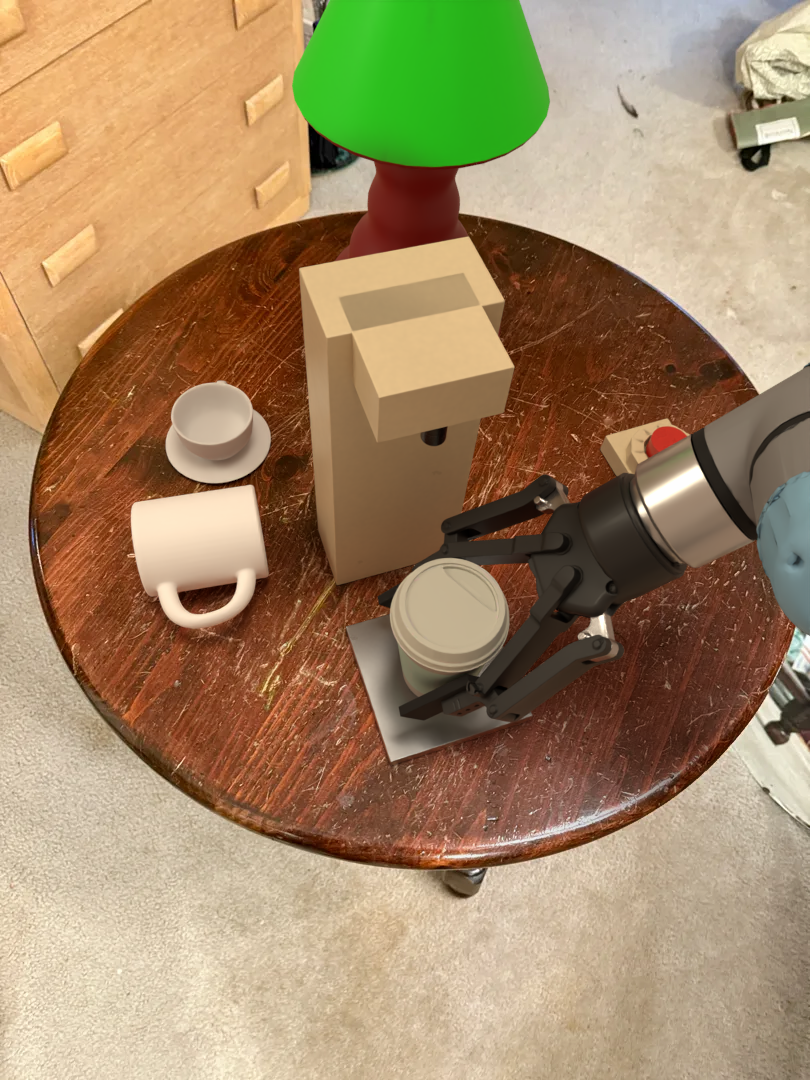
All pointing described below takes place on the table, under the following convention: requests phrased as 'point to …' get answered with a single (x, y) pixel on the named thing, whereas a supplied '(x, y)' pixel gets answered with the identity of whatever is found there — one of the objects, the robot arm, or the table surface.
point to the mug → (199, 549)
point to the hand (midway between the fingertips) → (400, 656)
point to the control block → (630, 446)
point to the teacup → (216, 434)
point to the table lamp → (420, 104)
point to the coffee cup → (447, 622)
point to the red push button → (663, 439)
